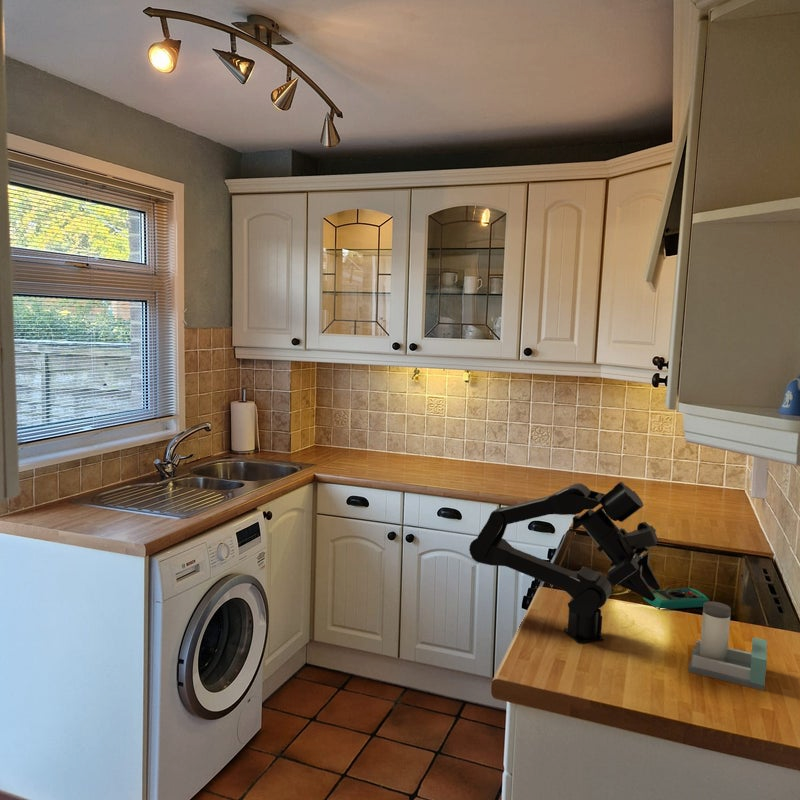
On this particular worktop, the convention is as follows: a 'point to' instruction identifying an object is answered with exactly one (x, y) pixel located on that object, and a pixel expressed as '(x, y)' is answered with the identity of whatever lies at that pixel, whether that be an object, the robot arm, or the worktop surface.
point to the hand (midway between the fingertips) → (656, 594)
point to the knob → (715, 631)
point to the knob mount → (734, 665)
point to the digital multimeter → (678, 598)
